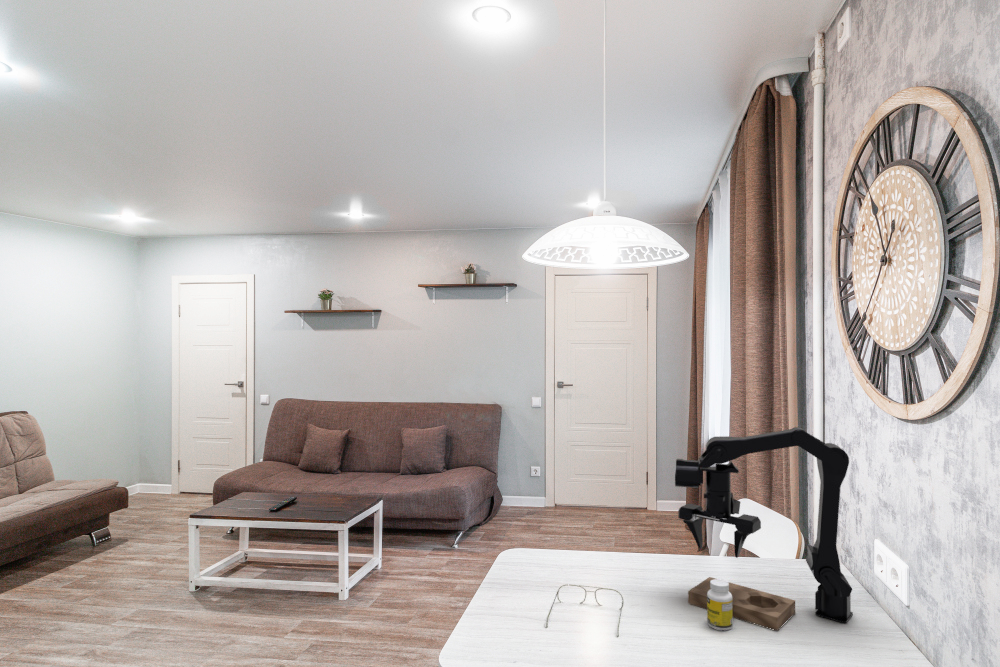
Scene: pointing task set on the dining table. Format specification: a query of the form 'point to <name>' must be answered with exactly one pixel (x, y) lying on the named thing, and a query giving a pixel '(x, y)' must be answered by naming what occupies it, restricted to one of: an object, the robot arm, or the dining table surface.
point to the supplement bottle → (719, 605)
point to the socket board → (749, 604)
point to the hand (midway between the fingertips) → (718, 552)
